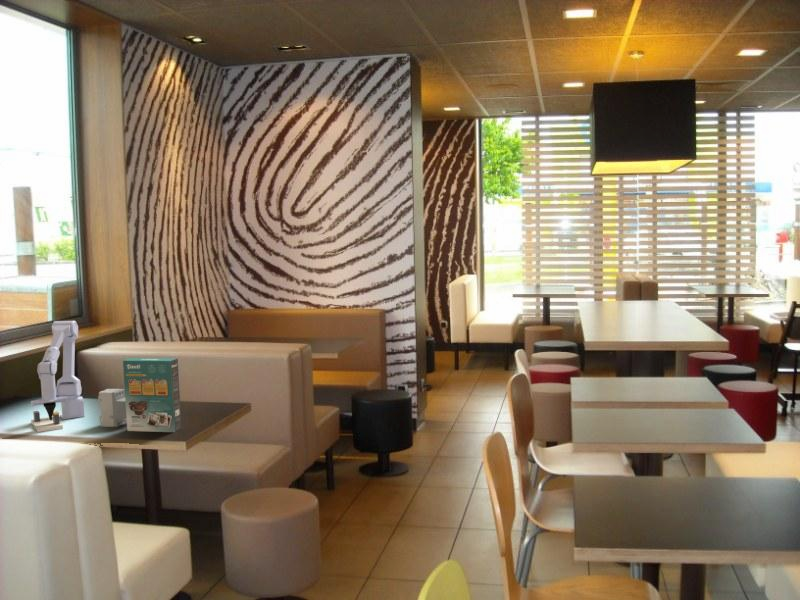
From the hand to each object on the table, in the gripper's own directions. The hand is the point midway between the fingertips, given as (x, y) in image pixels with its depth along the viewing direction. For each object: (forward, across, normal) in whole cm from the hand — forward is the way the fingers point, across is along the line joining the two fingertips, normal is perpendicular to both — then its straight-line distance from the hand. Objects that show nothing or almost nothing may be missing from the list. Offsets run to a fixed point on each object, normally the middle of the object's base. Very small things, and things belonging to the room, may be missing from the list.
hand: (50, 419), depth 369 cm
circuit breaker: (+4, +26, -14) cm, 29 cm away
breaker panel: (+3, -1, +5) cm, 6 cm away
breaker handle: (+2, +2, 0) cm, 3 cm away
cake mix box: (+4, +36, -32) cm, 49 cm away
